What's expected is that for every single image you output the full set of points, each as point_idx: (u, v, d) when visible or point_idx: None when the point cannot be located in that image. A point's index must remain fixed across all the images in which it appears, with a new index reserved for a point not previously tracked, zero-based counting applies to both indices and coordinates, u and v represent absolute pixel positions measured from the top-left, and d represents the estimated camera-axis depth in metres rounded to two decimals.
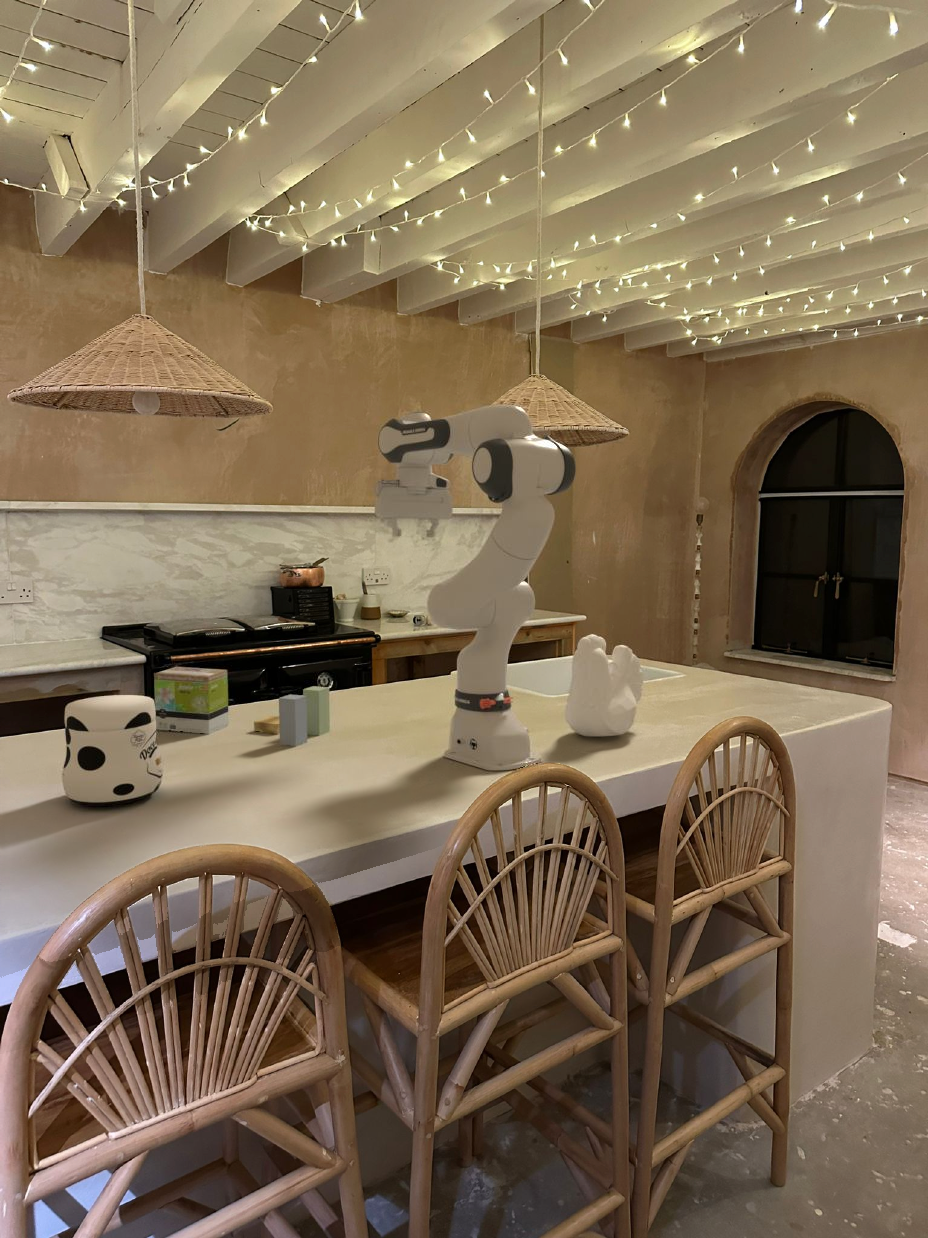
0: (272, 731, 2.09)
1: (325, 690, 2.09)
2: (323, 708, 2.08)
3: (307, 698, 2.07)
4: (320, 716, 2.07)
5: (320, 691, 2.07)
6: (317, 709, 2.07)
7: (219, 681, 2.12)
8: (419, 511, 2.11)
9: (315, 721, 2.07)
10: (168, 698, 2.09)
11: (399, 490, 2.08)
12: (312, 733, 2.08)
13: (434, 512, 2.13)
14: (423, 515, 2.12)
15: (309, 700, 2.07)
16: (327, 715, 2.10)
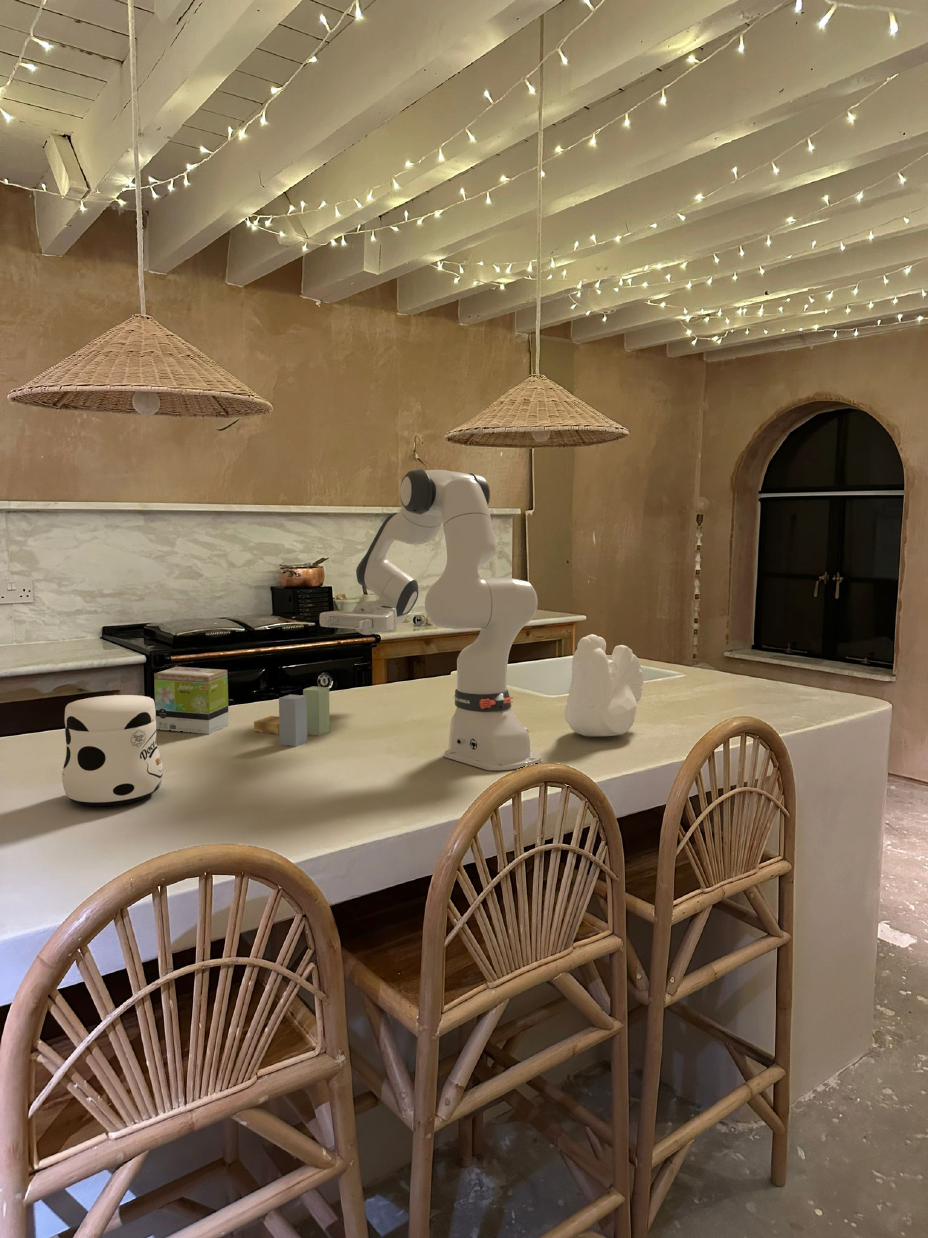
0: (272, 731, 2.09)
1: (325, 690, 2.09)
2: (323, 708, 2.08)
3: (307, 698, 2.07)
4: (320, 716, 2.07)
5: (320, 691, 2.07)
6: (317, 709, 2.07)
7: (219, 681, 2.12)
8: (356, 614, 2.23)
9: (315, 721, 2.07)
10: (168, 698, 2.09)
11: (347, 611, 2.30)
12: (312, 733, 2.08)
13: (369, 615, 2.22)
14: (357, 615, 2.22)
15: (309, 700, 2.07)
16: (327, 715, 2.10)
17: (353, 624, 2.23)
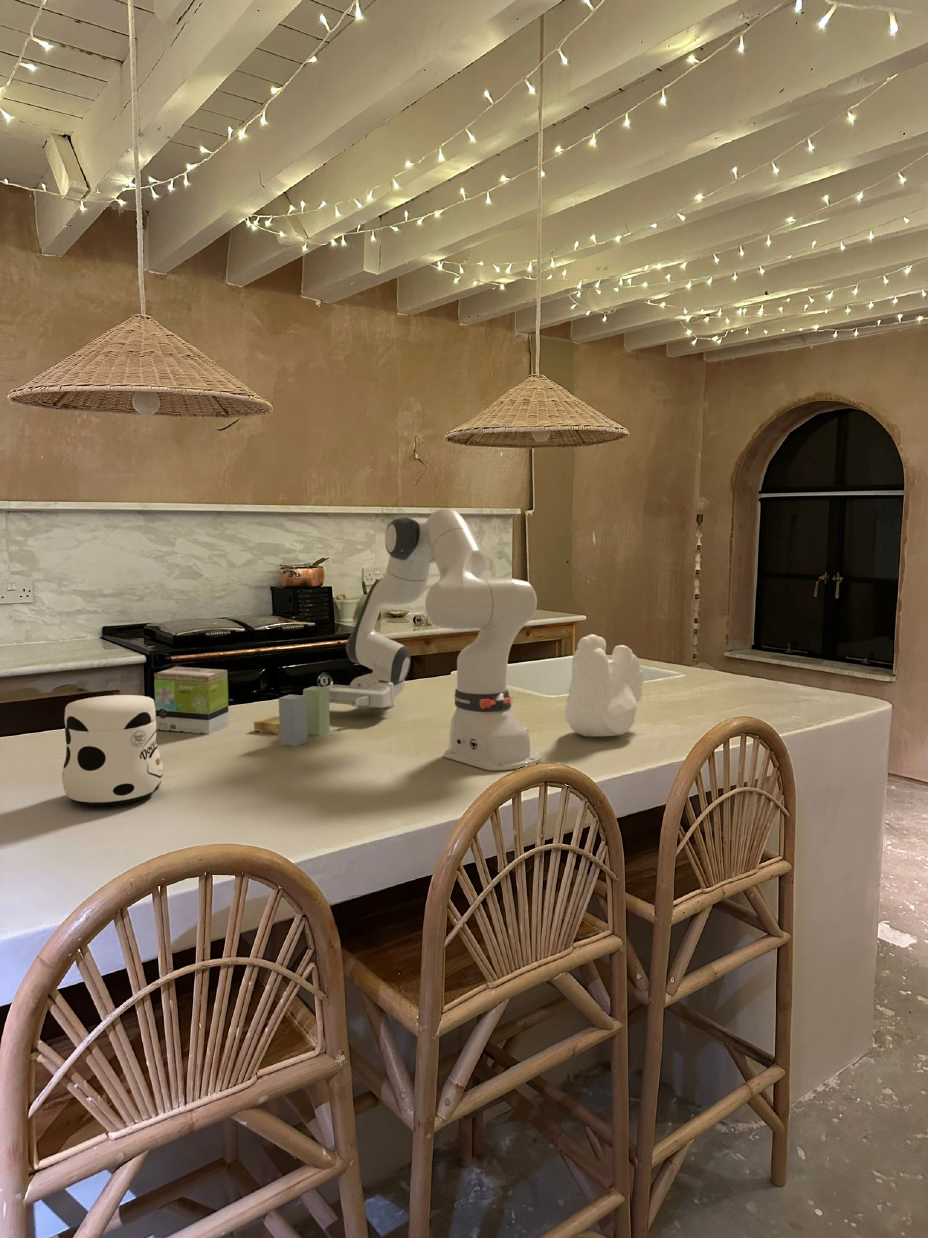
0: (272, 731, 2.09)
1: (325, 690, 2.09)
2: (323, 708, 2.08)
3: (307, 698, 2.07)
4: (320, 716, 2.07)
5: (320, 691, 2.07)
6: (317, 709, 2.07)
7: (219, 681, 2.12)
8: (353, 690, 2.23)
9: (315, 721, 2.07)
10: (168, 698, 2.09)
11: (344, 685, 2.30)
12: (312, 733, 2.08)
13: (366, 691, 2.22)
14: (354, 691, 2.22)
15: (309, 700, 2.07)
16: (327, 715, 2.10)
17: (350, 700, 2.23)
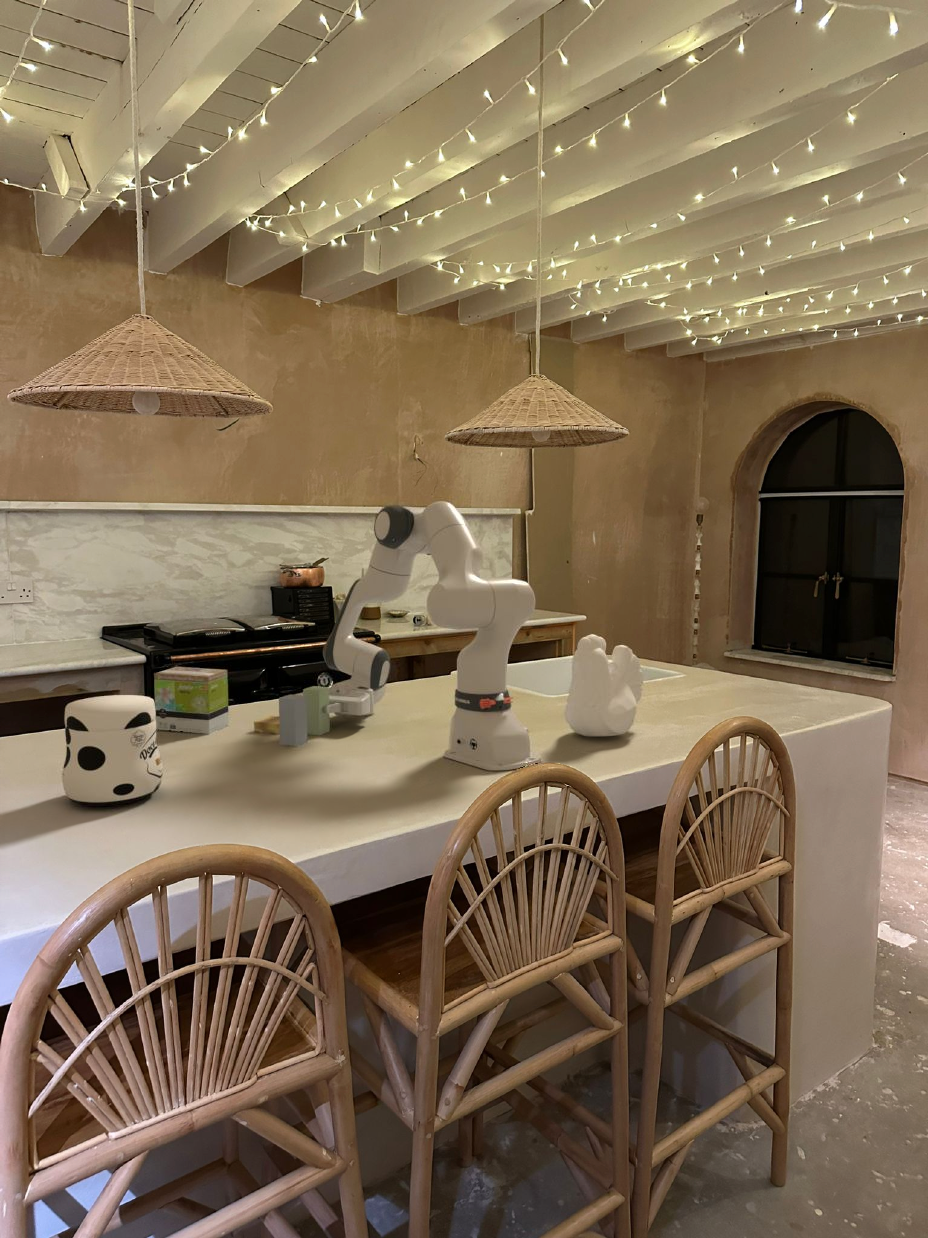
0: (272, 731, 2.09)
1: (325, 690, 2.09)
2: None
3: (307, 698, 2.07)
4: (320, 716, 2.07)
5: (320, 691, 2.07)
6: (317, 709, 2.07)
7: (219, 681, 2.12)
8: (330, 697, 2.14)
9: (315, 721, 2.07)
10: (168, 698, 2.09)
11: None
12: (312, 733, 2.08)
13: (344, 698, 2.12)
14: (332, 698, 2.12)
15: (309, 699, 2.07)
16: (327, 715, 2.10)
17: None
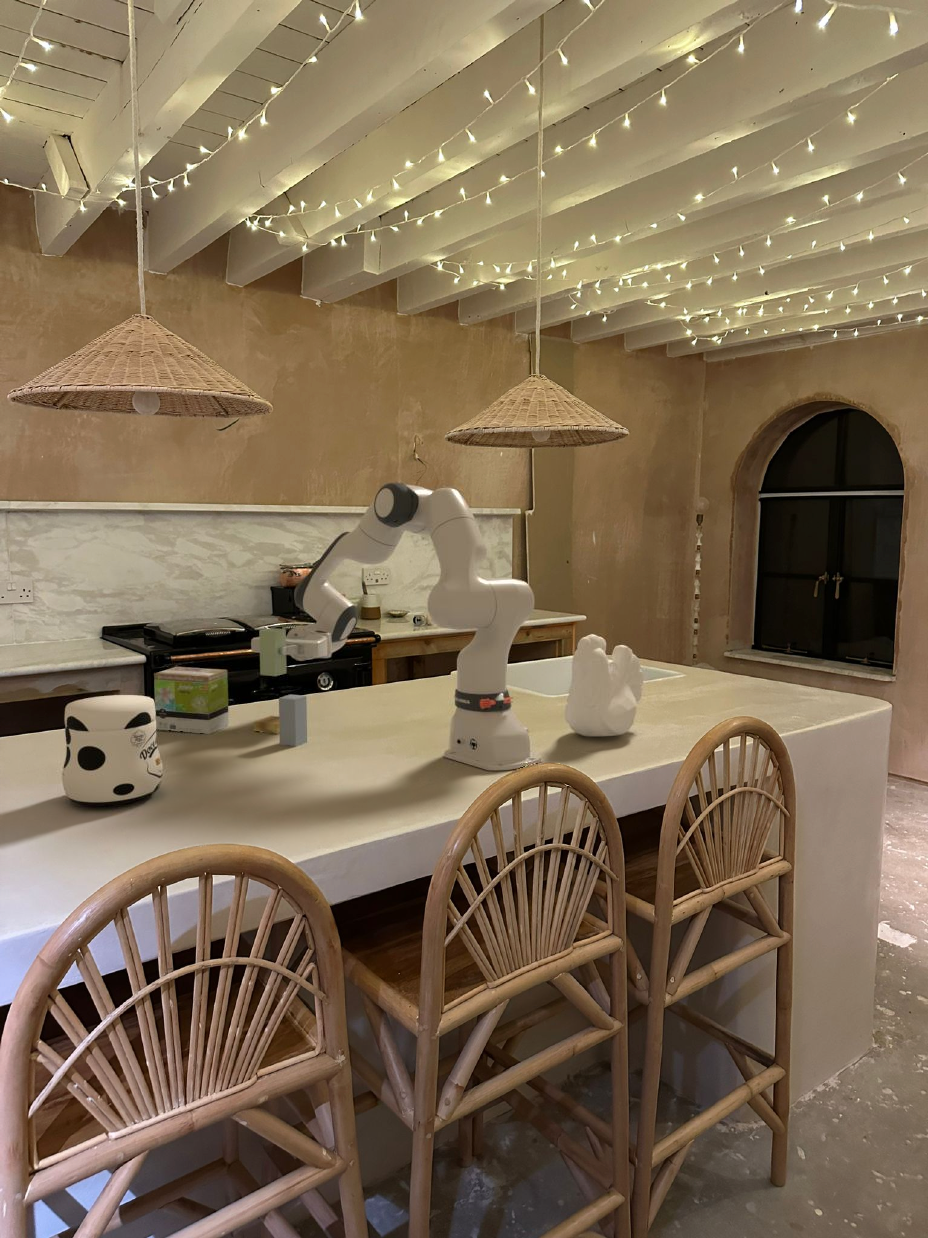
0: (272, 731, 2.09)
1: (281, 631, 2.10)
2: None
3: (263, 639, 2.09)
4: (276, 657, 2.08)
5: (276, 632, 2.08)
6: (273, 650, 2.08)
7: (219, 681, 2.12)
8: (288, 640, 2.15)
9: (271, 662, 2.08)
10: (168, 698, 2.09)
11: None
12: (268, 674, 2.09)
13: (301, 641, 2.13)
14: (289, 640, 2.14)
15: (265, 640, 2.08)
16: (284, 656, 2.11)
17: None
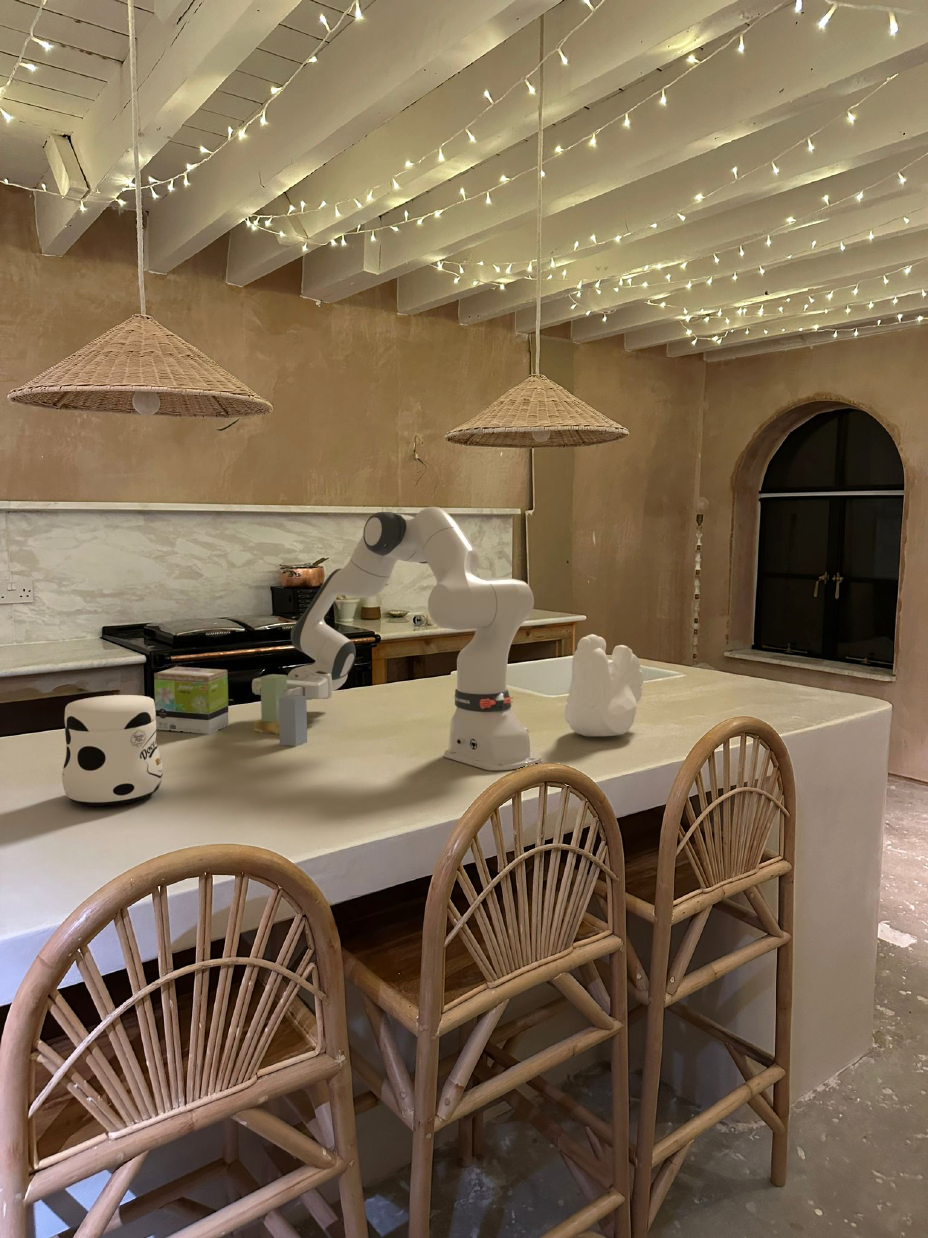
0: (272, 731, 2.09)
1: (282, 678, 2.11)
2: (280, 696, 2.10)
3: (264, 686, 2.10)
4: (277, 703, 2.09)
5: (277, 679, 2.09)
6: (274, 696, 2.09)
7: (219, 681, 2.12)
8: (288, 681, 2.16)
9: (272, 708, 2.10)
10: (168, 698, 2.09)
11: None
12: (269, 720, 2.10)
13: (301, 682, 2.14)
14: (289, 682, 2.15)
15: (266, 687, 2.10)
16: None
17: None
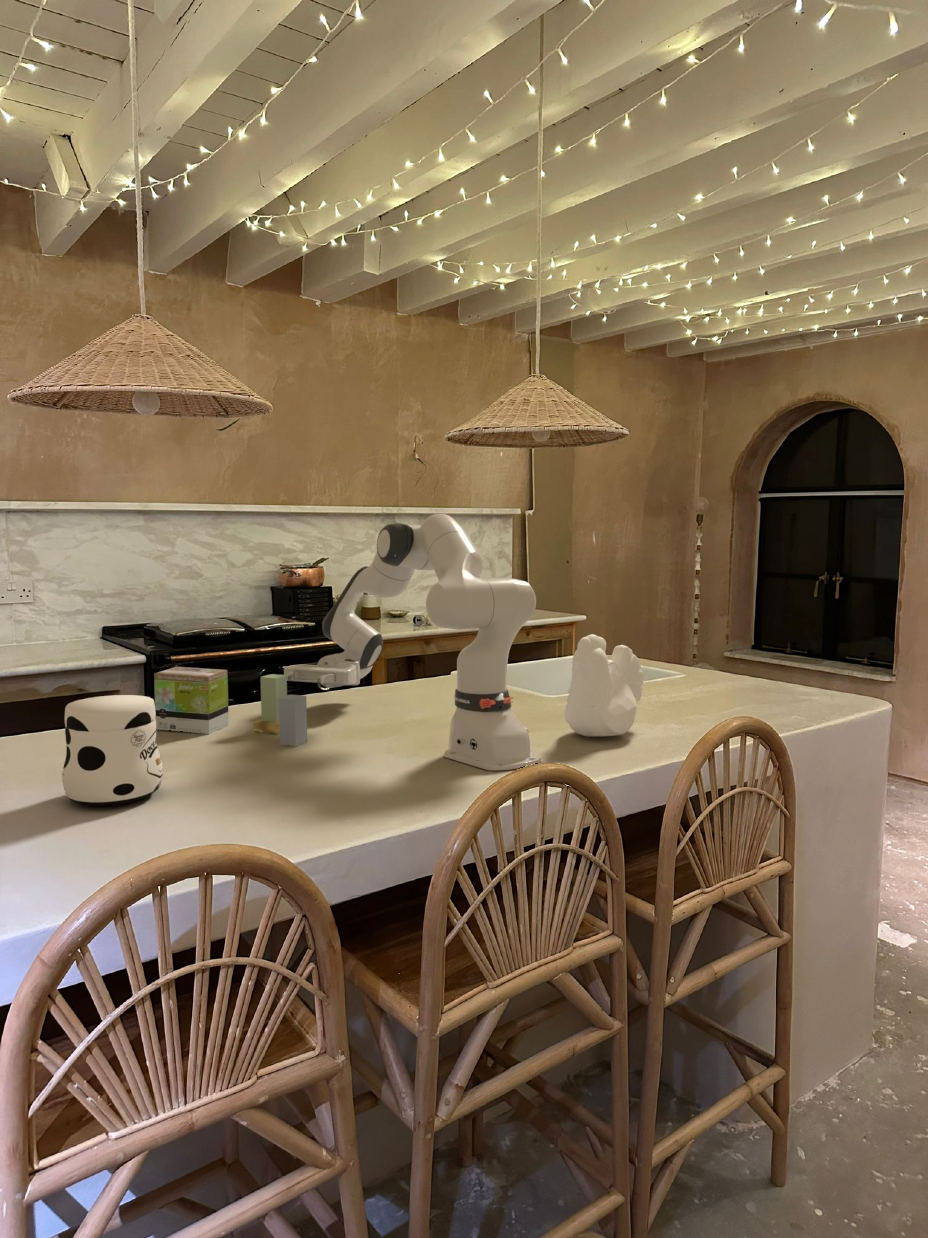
0: (272, 731, 2.09)
1: (282, 678, 2.11)
2: (280, 696, 2.10)
3: (264, 686, 2.10)
4: (277, 703, 2.09)
5: (277, 679, 2.09)
6: (274, 696, 2.09)
7: (219, 681, 2.12)
8: (319, 668, 2.27)
9: (272, 708, 2.10)
10: (168, 698, 2.09)
11: (311, 665, 2.34)
12: (269, 720, 2.10)
13: (332, 669, 2.26)
14: (320, 669, 2.26)
15: (266, 687, 2.10)
16: None
17: (316, 678, 2.27)
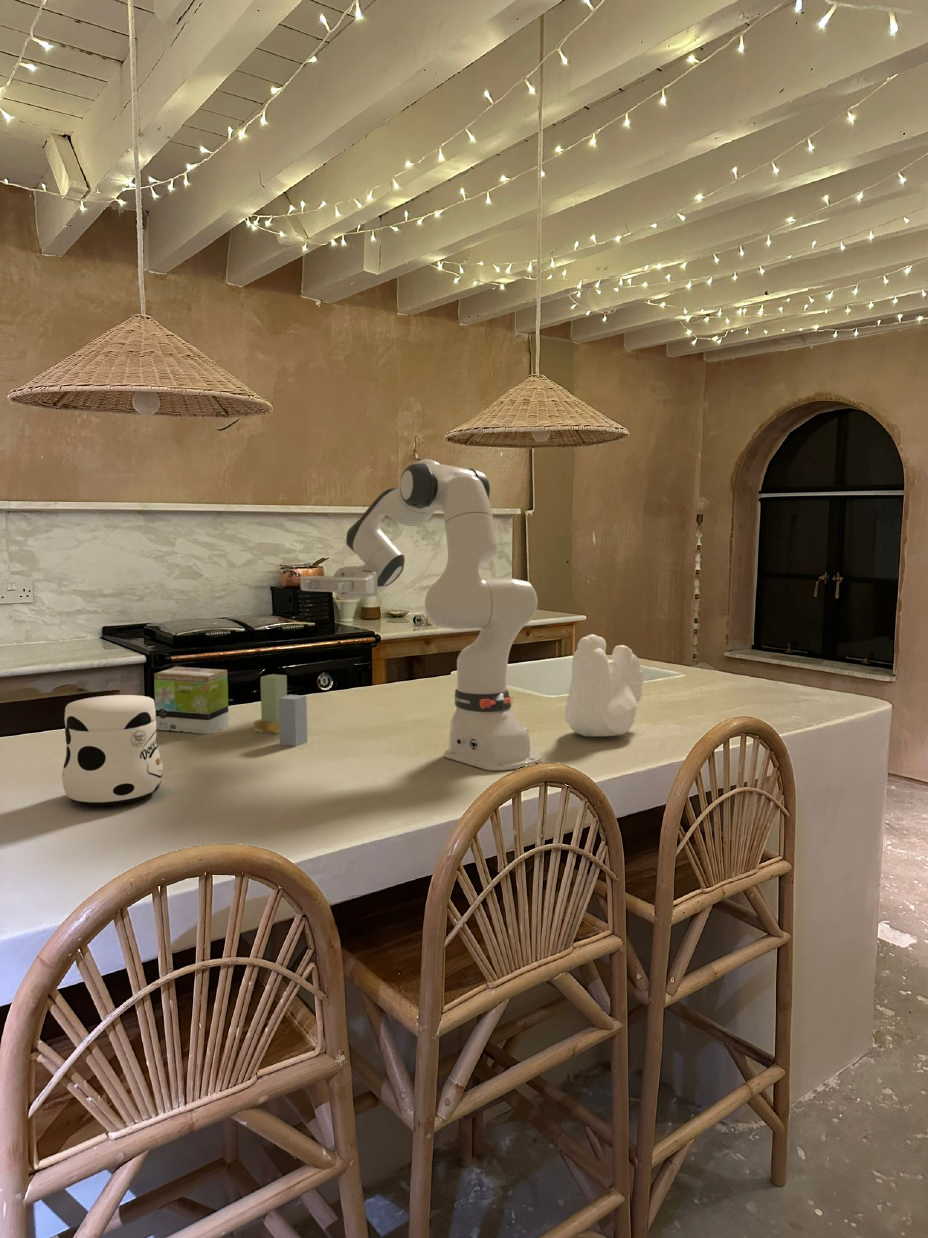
0: (272, 731, 2.09)
1: (282, 678, 2.11)
2: (280, 696, 2.10)
3: (264, 686, 2.10)
4: (277, 703, 2.09)
5: (277, 679, 2.09)
6: (274, 696, 2.09)
7: (219, 681, 2.12)
8: None
9: (272, 708, 2.10)
10: (168, 698, 2.09)
11: (328, 576, 2.31)
12: (269, 720, 2.10)
13: (349, 578, 2.23)
14: (337, 578, 2.23)
15: (266, 687, 2.10)
16: None
17: (333, 587, 2.24)
